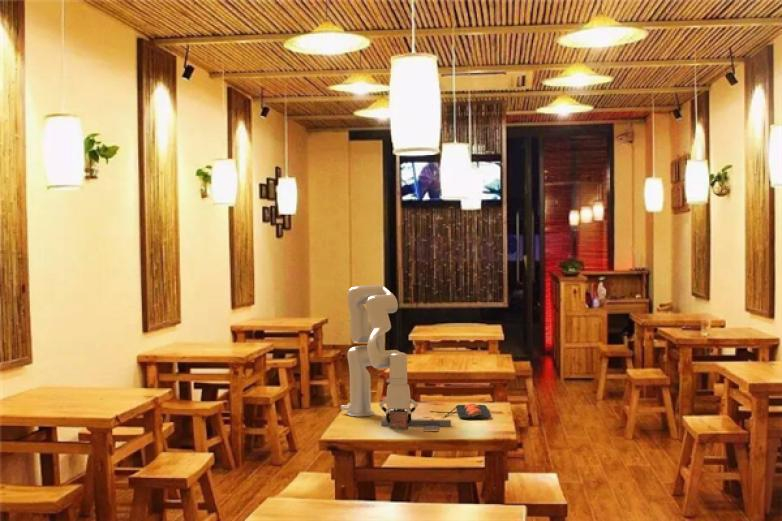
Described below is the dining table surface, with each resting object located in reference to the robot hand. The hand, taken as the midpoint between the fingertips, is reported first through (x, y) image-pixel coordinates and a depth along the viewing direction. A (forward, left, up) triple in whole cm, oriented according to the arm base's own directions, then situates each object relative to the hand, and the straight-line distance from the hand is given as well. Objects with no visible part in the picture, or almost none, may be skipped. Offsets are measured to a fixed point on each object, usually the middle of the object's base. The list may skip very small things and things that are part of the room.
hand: (398, 422), depth 365 cm
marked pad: (+14, 0, -3) cm, 14 cm away
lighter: (0, 0, -3) cm, 3 cm away
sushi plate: (+24, +33, -3) cm, 41 cm away
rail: (+7, +7, -3) cm, 10 cm away
